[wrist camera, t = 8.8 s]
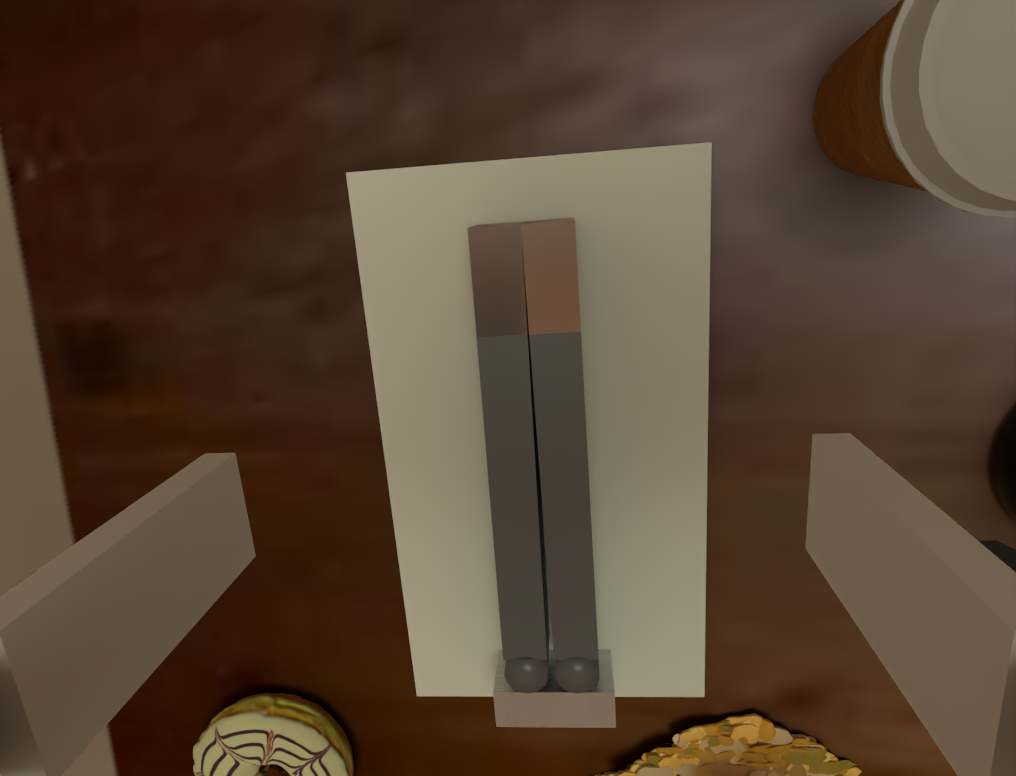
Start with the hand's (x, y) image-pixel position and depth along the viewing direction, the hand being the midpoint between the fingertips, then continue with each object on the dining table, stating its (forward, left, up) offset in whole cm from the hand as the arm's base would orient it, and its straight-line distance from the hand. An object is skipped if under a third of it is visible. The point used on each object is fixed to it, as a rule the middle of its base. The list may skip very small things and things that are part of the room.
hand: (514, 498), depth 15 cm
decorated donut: (+20, +28, -21) cm, 41 cm away
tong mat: (+1, +7, -21) cm, 22 cm away
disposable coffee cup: (-16, -10, -21) cm, 28 cm away
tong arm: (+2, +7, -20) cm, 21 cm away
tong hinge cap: (+1, +21, -20) cm, 29 cm away
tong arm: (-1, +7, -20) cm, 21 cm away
